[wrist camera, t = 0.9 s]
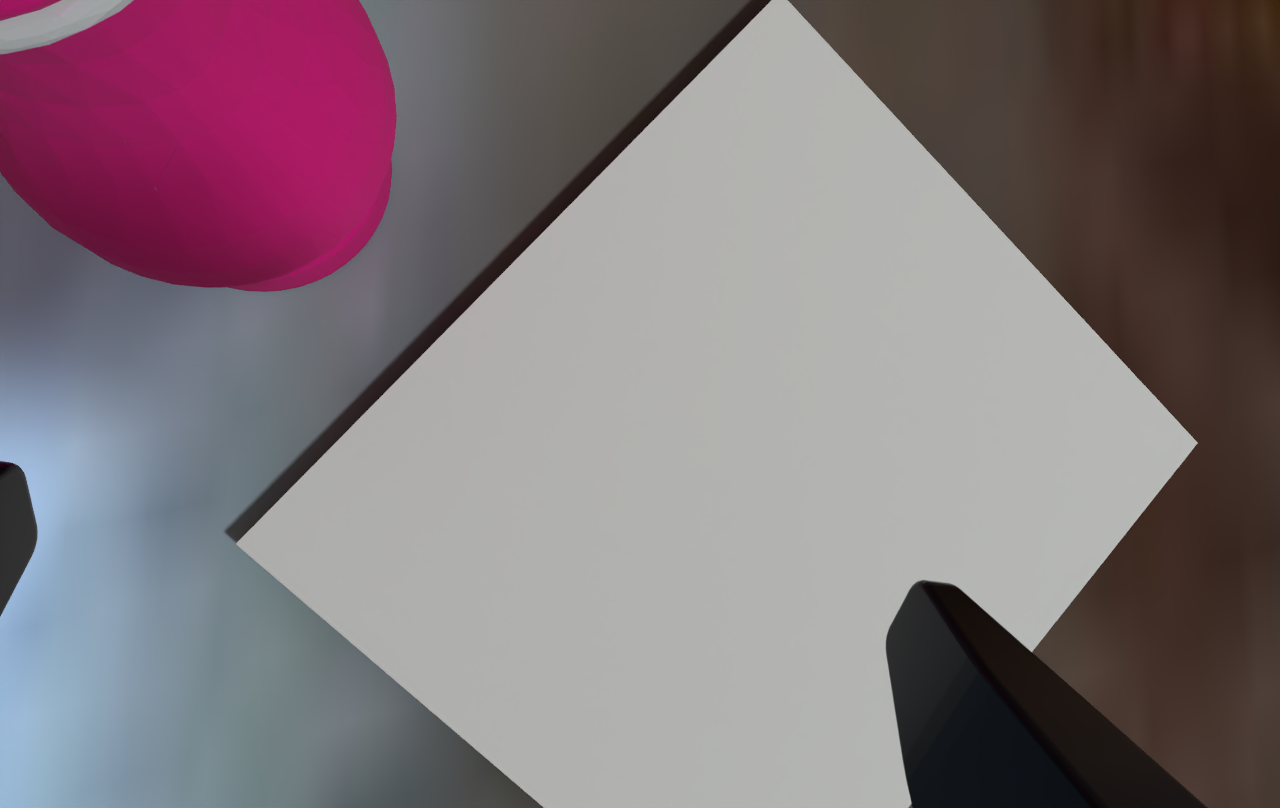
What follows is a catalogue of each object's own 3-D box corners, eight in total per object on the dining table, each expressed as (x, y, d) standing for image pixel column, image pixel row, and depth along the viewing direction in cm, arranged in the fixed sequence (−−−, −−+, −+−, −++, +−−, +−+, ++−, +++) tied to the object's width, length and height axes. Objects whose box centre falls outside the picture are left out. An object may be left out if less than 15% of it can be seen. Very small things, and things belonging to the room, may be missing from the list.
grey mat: (756, 982, 23) (760, 993, 22) (240, 541, 20) (235, 543, 20) (1186, 442, 25) (1197, 442, 25) (774, -1, 23) (779, -8, 23)
